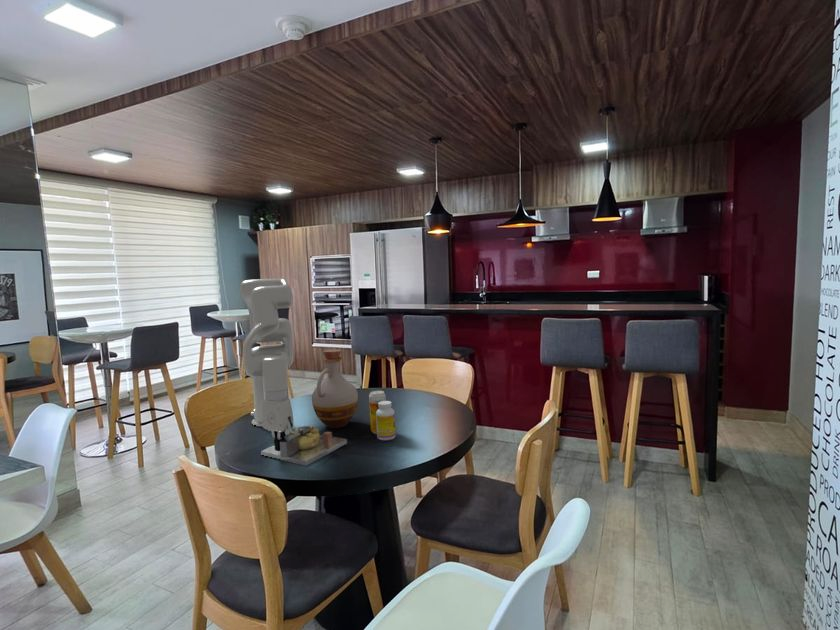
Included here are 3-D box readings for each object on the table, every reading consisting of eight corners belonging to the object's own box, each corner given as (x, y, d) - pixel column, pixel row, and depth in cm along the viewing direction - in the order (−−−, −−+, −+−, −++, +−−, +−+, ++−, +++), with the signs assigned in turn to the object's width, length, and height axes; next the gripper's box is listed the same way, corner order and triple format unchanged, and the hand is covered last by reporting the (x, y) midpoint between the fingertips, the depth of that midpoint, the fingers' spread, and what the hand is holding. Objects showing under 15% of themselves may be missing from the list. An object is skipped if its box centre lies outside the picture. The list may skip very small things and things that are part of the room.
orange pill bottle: (373, 435, 160) (371, 395, 159) (368, 430, 166) (366, 391, 164) (389, 432, 162) (387, 393, 161) (384, 427, 168) (382, 389, 167)
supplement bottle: (396, 440, 155) (395, 404, 154) (378, 442, 154) (376, 406, 153) (394, 433, 161) (393, 399, 160) (376, 435, 160) (374, 400, 159)
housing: (261, 455, 146) (259, 436, 146) (304, 435, 164) (303, 418, 163) (306, 465, 136) (304, 445, 136) (346, 443, 154) (345, 425, 153)
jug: (340, 437, 160) (335, 356, 157) (301, 432, 167) (295, 354, 164) (367, 419, 178) (363, 346, 175) (331, 415, 185) (326, 345, 182)
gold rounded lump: (300, 437, 156) (299, 422, 156) (325, 439, 153) (324, 424, 152) (270, 456, 141) (269, 439, 140) (297, 458, 137) (296, 441, 137)
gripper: (251, 395, 142) (255, 449, 144) (283, 400, 135) (288, 457, 136) (269, 389, 149) (273, 441, 150) (301, 393, 141) (305, 449, 143)
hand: (280, 449), depth 143 cm, fingers closed
